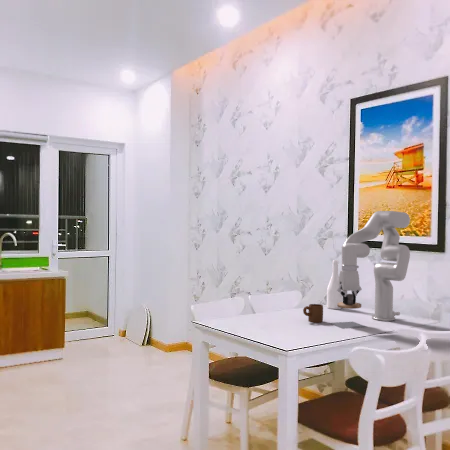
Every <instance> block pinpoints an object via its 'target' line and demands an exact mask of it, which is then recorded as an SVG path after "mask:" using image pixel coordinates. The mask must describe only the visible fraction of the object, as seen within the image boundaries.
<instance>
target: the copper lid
mask: <svg viewBox="0 0 450 450" xmlns="http://www.w3.org/2000/svg"><path fill="white" fill-rule="evenodd" d="M347 297H348V304H343V301H342V302H340V303H337V306H338V307H340V308H341V309H348V310H349V309H350V310H351V309H361V308H362V303H360V302H356V303H355V304H353V294H352V293H347Z"/></svg>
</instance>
